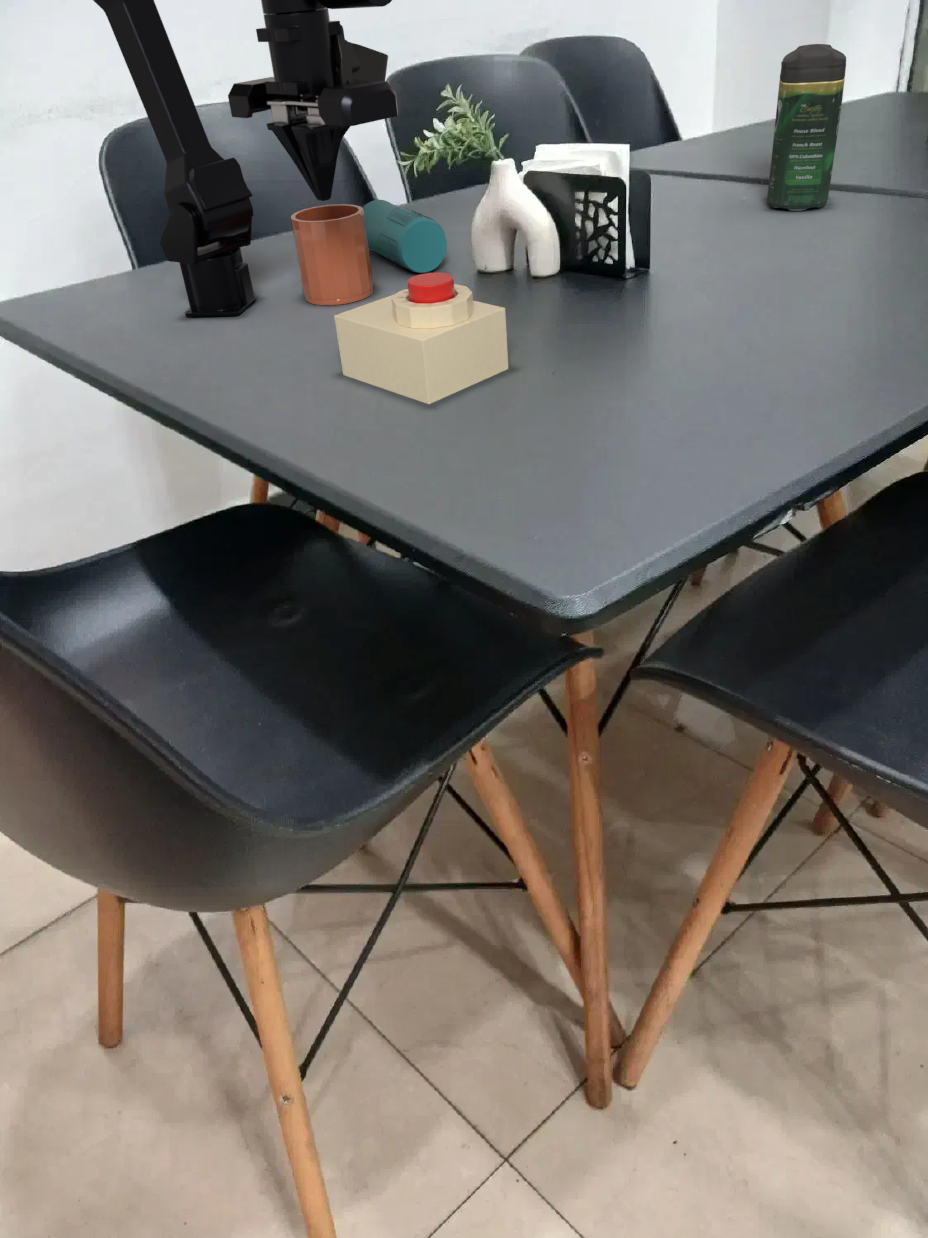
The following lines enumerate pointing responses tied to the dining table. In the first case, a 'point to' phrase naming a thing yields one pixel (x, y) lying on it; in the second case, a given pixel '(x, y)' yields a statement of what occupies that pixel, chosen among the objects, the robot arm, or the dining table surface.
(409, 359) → the red push button box
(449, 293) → the power button
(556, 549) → the dining table surface
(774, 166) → the coffee jar
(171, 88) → the robot arm
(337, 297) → the terracotta cup
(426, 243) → the beverage bottle
